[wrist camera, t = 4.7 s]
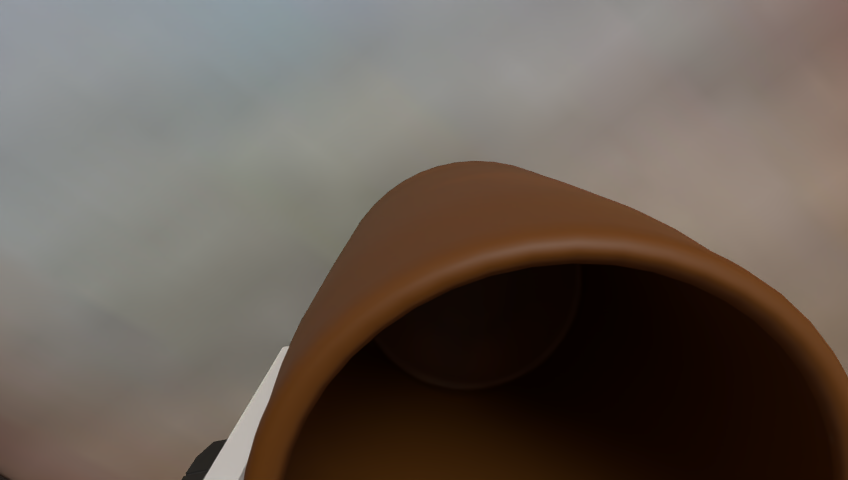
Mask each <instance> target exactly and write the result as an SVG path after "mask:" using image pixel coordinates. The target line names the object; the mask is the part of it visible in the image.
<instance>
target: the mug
mask: <svg viewBox="0 0 848 480" xmlns="http://www.w3.org/2000/svg"><path fill="white" fill-rule="evenodd" d="M244 480H848V377H847V375H846V373H845V371H844V369H843V368H842V366H841V364H840V362H839V360H838V359H837V357H836V355H835V354H834V352H833V351H832V349H831V348H830V347H829V345H828V344H827V343H826V342H825V340H824V339H823V338H822V336H821V335H820V334H819V332H818V331H817V330H816V328H815V327H814V326H813V324H812V323H811V322H810V321H809V320H808V319H807V318H806V317H805V316H804V315H803V314H802V313H801V312H800V311H799V310H798V309H797V308H795V307H794V306H793V305H792V304H791V303H790V302H789V301H788V300H787V299H786V298H785V297H784V296H783V295H782V294H781V293H779V292H778V291H776V290H775V289H773V288H772V287H770V286H769V285H767V284H766V283H765V282H763V281H762V280H760V279H759V278H757V277H756V276H754V275H753V274H751V273H750V272H749V271H747V270H745V269H744V268H742V267H740V266H739V265H737V264H735V263H733V262H732V261H730V260H728V259H726V258H724V257H722V256H720V255H718V254H716V253H714V252H712V251H710V250H708V249H707V248H705V247H703V246H702V245H700V244H699V243H697V242H695V241H694V240H692V239H691V238H689V237H687V236H686V235H684V234H682V233H681V232H679V231H678V230H676V229H674V228H672V227H670V226H668V225H666V224H664V223H662V222H660V221H658V220H656V219H654V218H652V217H650V216H648V215H646V214H644V213H641V212H639V211H637V210H635V209H633V208H631V207H628V206H626V205H623V204H620V203H618V202H615V201H612V200H610V199H607V198H604V197H602V196H599V195H596V194H594V193H591V192H588V191H586V190H583V189H580V188H577V187H575V186H572V185H569V184H567V183H564V182H561V181H558V180H555V179H552V178H549V177H546V176H543V175H540V174H537V173H534V172H531V171H528V170H525V169H522V168H519V167H516V166H513V165H508V164H502V163H497V162H484V161H468V162H456V163H451V164H446V165H442V166H437V167H434V168H431V169H429V170H426V171H423V172H420V173H418V174H416V175H414V176H413V177H411V178H409V179H407V180H405V181H403V182H402V183H400V184H399V185H397V186H396V187H395V188H393V189H392V190H390V191H389V192H388V193H387V194H386V195H384V196H383V197H382V198H381V199H380V200H379V201H378V202H377V203H376V204H375V205H374V206H373V207H372V208H371V209H370V210H369V212H368V213H367V214H366V215H365V216H364V218H363V219H362V220H361V222H360V223H359V225H358V226H357V228H356V230H355V231H354V233H353V234H352V236H351V238H350V239H349V241H348V243H347V244H346V246H345V247H344V249H343V251H342V252H341V254H340V255H339V257H338V259H337V260H336V262H335V263H334V265H333V267H332V268H331V270H330V272H329V274H328V275H327V277H326V279H325V280H324V282H323V284H322V286H321V287H320V289H319V291H318V293H317V294H316V296H315V298H314V299H313V301H312V303H311V305H310V306H309V308H308V310H307V312H306V313H305V315H304V317H303V318H302V320H301V322H300V324H299V326H298V328H297V330H296V332H295V335H294V337H293V339H292V341H291V344H290V346H289V348H288V350H287V353H286V355H285V357H284V359H283V362H282V364H281V367H280V370H279V373H278V375H277V378H276V381H275V384H274V387H273V390H272V393H271V396H270V399H269V402H268V404H267V406H266V408H265V411H264V413H263V415H262V417H261V420H260V422H259V425H258V428H257V431H256V433H255V436H254V440H253V444H252V447H251V451H250V454H249V458H248V462H247V465H246V469H245V473H244Z"/></svg>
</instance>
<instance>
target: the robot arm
mask: <svg viewBox="0 0 848 480" xmlns="http://www.w3.org/2000/svg"><path fill="white" fill-rule="evenodd" d="M288 348H289V346H286V347H283V348H282V349H281V351H280V353H279V354H278V356H277V358H276V359H275V361H274V363H273V364H272V366H271V368H270V369H269V371H268V373H267V374H266V376H265V378H264V379H263V381H262V383H261V384H260V386H259V388H258V389H257V391H256V393H255V394H254V396H253V398H252V399H251V401H250V403H249V404H248V406H247V408H246V409H245V411H244V413H243V414H242V416H241V418H240V419H239V421H238V423H237V424H236V426H235V428H234V429H233V431H232V433H231V434H230V436H229V438H228V439H227V440H221V441H216V442H213V443H212V444H211V445H210V446H209V447H207V448H206V449H205V450H204V451H203V452H202V453H201V454H200V455H198V456H197V457H196V459H195V460H194V462H193V463H192V465H191V466H190V468H189V469H188V471H187V472H186V476H184V477H183V478H182V480H244V473H245V469H246V465H247V462H248V458H249V454H250V451H251V447H252V444H253V440H254V436H255V433H256V431H257V428H258V425H259V422H260V420H261V417H262V415H263V413H264V411H265V408H266V406H267V404H268V402H269V399H270V396H271V393H272V390H273V387H274V384H275V381H276V378H277V375H278V373H279V370H280V367H281V364H282V362H283V359H284V357H285V355H286V353H287V350H288ZM0 480H7V479H6V478H4V477H2V476H1V475H0Z"/></svg>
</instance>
